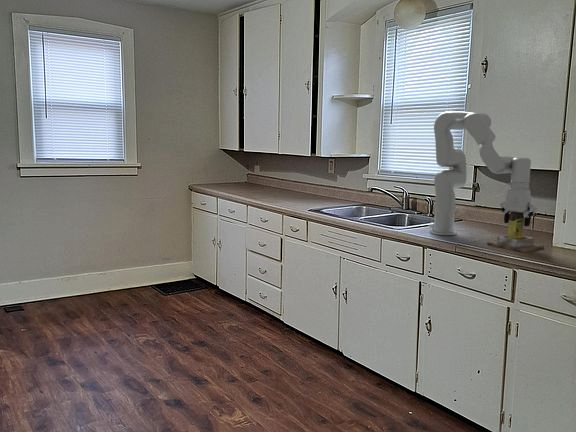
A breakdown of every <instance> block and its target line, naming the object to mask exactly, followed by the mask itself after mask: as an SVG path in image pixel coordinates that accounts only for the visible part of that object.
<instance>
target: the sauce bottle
mask: <svg viewBox="0 0 576 432" xmlns="http://www.w3.org/2000/svg"><path fill="white" fill-rule="evenodd" d="M509 214H510V216H509V223H507V224H508V225H507V226H508V227H507V234H506V235H507V238H510V239H515V240H521V239H522V237H523V236H524V227H525V226H524V219H525V214H524V213H520V212H512V211H511V212H510V213H509Z"/></svg>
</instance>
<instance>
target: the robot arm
mask: <svg viewBox="0 0 576 432" xmlns="http://www.w3.org/2000/svg"><path fill="white" fill-rule="evenodd" d="M436 117H437V118H436V119H435V121H434V123H433V133H434V139H435V141H434V142H435V158H436V159H435V160H436V164H437V165H438V166H439V167H441V168H448V169H443V170H440V171H438V172H437V173H436V174H435V177H434V188H435V189H434V190H435V191H434V192H435V197H434V198H435V199H434V200H435V202H434V203H435V204H434V221H433V222H430V223H429V224H428V227H429V228H432V229H431V230H430V234H433V235H435V236H436V235H438V236H456V235H457V234H458V232H457V230H454V229H455V225H454V224H455V215H456V214H455V212H456V209H455V208H456V194H455V191H454V189H461V188H463V187H465V184H466V182H467V160H466V155H465V153H464V151H463V150H462V149H461V148H458V147H455V145H454V136H453V134H452V132H451V130H465V131H467V132H468V134H469V135H470V136H471V137H472V139H473V141H474V142H475V143H476V144H477V146H478V152H479V156H480V158H481V161H482V162H483V163H484V165H485V166H486V168H487V169H489V171H490V172H492V173H493V174H496V175H500V174H501V175H502V174H510V182H508V184H507V185H508V186H509V188H508V189H507V192H506V196H505V201H502V202H501V203H499V206H500V208H501V212H502V213H503V215H504V216H503V218H504V219H503V222H504V224H509V216H510V213H511V212H520V213H523V215H524V227H529V226H530V224H531V219H532V217H533V216H534V215H535V213H536V212H537V211H538V208H537V206H534V205H533V204H532V196H531V195H532V194H531V189H530V177H531V176H530V175H531V167H532V165H531V164H532V162H531V161H532V160H531V159H530V157H529V158H528V157H515V156H507V155H506V156H500V155H499V154H498V152H497V151H496V149H495V147H494V145H493V143H494V142H495V140H496V136H497V135H496V134H495V133H494V131H493V130H492V129H491V126H492V119H491V116H490V115H488V114H487V113H485V112H470V111H469V112H467V111H455V110H454V111H453V110H449V111H444V112H442V113H440V114H438V116H436Z"/></svg>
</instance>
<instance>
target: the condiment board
mask: <svg viewBox="0 0 576 432" xmlns="http://www.w3.org/2000/svg"><path fill="white" fill-rule="evenodd" d="M507 235H508V234H506V235H500V236H497V240H493V241H488V242H487V243H486V245H487V246H490V245H491V246H492V247H495V246H496V247H495V248H500V247H501V249H504V250H505V249H506V250H510V251H514V250H516V251H515V252H519V251H520V252H521V253H528V252H531V251H537V250H542V249H545V246H544V245H542V244H537V243H535V237H531V236H525V235H523V237H522V239H521V240H515V239H510V238H507Z"/></svg>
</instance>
